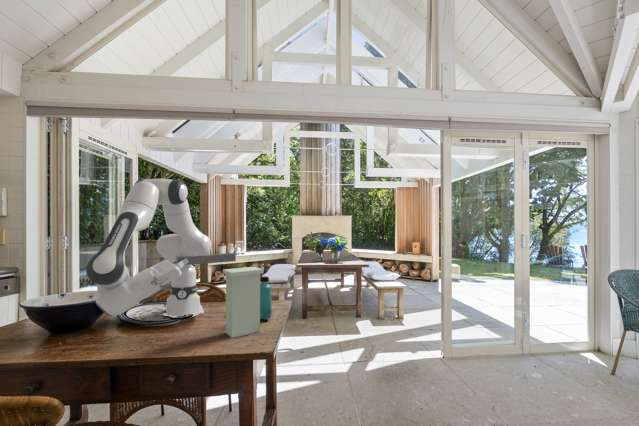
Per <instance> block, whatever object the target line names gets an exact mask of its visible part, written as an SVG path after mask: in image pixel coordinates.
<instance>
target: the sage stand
mask: <svg viewBox="0 0 639 426" xmlns="http://www.w3.org/2000/svg"><path fill="white" fill-rule="evenodd" d="M264 272H265V271H264V268H260V267H257V266H246V267H236V268H223V269H222V274H225V334H227V336H229V337H230V338H231V339H234V338H238V337H243V336H247V335H248V336H249V335H251V334H255V332H257V333H260V332H261V319H260V284H261V282H260V277H261V274H264Z"/></svg>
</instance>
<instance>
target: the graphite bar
mask: <svg viewBox="0 0 639 426" xmlns="http://www.w3.org/2000/svg"><path fill="white" fill-rule="evenodd" d="M236 256H237V255H236V253H234V252H227V253H226V252H225V253H214V254H213V253H211V254H209V253H208V254H207V255H192V256H176V264H177V263H179V262H180V261H181V260H183V259H184V258H186V259H187V260H188V261H189V262H188V263H187V264H185V265H192V266H193V265H203V264H217V263H229V262H236V261H237V260H236V259H237V257H236Z"/></svg>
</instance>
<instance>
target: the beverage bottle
mask: <svg viewBox="0 0 639 426" xmlns="http://www.w3.org/2000/svg"><path fill="white" fill-rule="evenodd" d="M269 282H270V278H269V276H260V320H267V319H271V318H272V313H273V312H272V285H271V284H270V283H269Z"/></svg>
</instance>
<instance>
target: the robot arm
mask: <svg viewBox="0 0 639 426" xmlns="http://www.w3.org/2000/svg"><path fill="white" fill-rule="evenodd" d="M188 196H189V190H188V186H187V184H186V183H185V182H184V181H182V180H179V179H171V178H142V179H138V180H136V181H135V182H134V183H133V186H132V187H131V189H130V190H129V192H128V193H127V195H126V197H125V199H124V201H123V203H122V205H121V208H120V210H119V214H118V216H117V218H116V221H115V222H114V225H113V226H112V228H111V229H110V232H109V233H108V236H107V237H106V240H105V242H104V243H103V245H102V246H101V248H100V249H99V250H98V251H97V252H96V253H95V254H93V256H92V257H91V258H90V259H89V261H87V264H86V268H85V273H86V276H87V278H88V279H89V280H90V281H91V282H93V283H94V284H96V287H97V292H96V293H97V294H96V296H97V297H96V300H95V304H96V306H97V308H99V310H101V311H102V312H103V313H104V314H106V315H108V316H110V317H116V316H118V315H119V316H120V315H121V314H123V313H125V312H126V311H129V310H130V309H132V308H133V307H135V306H136V305H138V304H139V303H140V302H141V301H143V300H145V299H147V298H149V297H151V296H152V295H153V294H156V293H157V292H159V291H160V290H161V289H162V286H165V285H167V284H169V283H171V285H170V288H169V291H170V295H169V296H168V297H167V298H166V306H165V307H166V308H165V311H166V314H168V315H171V316H184V315H188V314H193V316H192V317H196V316H198V315H202V314H204V313H205V310H204V308H203V306H202V304H201V302H200V301H201V299H200V295H199V294H198V293H197V292H198V284H197V270H196V268H195V265H193V264H192V265H185V264H187V263H188V262H189V261H188V260H187V259H186V258H184V259H183V260H181V261H180V262H179V263H177V264H176V256H192V255H209V253H210V251H211V250H212V241H211V239H210V237H209V236H208V235H206V234H204V233H202V232H201V230H199V229H198V228H197V226H196V224H195V223H194V222H193V219H192V215H191V210H190V205H189V201H188ZM157 206H162V211H163V215H164V220H165V225H166V227H167V229H169V230H170V231H171V232H174V233H170V234H164V235H161V236H159V238H158V239H157V240H156V245H155V247H156V251H157V253H158V254H159V255H160V256H162V257H163V259H164V260H161V261H160V262H158V263H156V264H153V265H152V266H149V267H148V268H144V269H142V270H140V272H138V273H137V274H135V275H133V276H131V275H130V270H129V268H128V267H127V265H126V264H125V262H124V254H125V251H126V250H127V247H128V245H129V244H130V240H131V238H132V236H133V235H134V233H135V232H139V231H143V230H146V229H147V228H148V227H149V225H150V224H151V222H152V220H153V219H154V216H155V213H156V210H157ZM192 317H191V318H192Z"/></svg>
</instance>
